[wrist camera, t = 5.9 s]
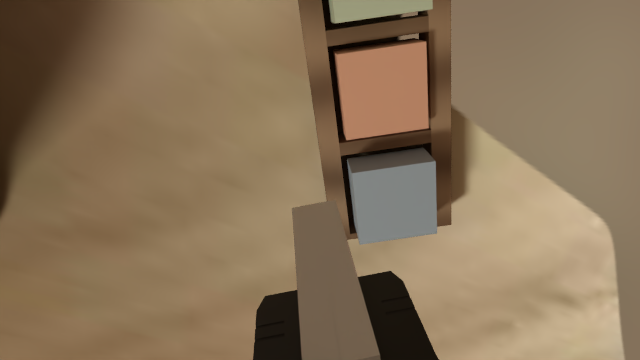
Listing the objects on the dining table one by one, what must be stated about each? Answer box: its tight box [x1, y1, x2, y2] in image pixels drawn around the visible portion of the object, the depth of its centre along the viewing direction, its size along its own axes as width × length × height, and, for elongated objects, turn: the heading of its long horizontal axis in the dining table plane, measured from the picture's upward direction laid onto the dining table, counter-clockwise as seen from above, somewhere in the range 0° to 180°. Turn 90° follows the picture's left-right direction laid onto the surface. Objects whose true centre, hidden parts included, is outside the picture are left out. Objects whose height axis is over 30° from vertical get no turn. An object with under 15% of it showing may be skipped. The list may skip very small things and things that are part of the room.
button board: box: [298, 0, 451, 240], centre depth 30 cm, size 24×10×2 cm, turn 8°
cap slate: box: [347, 148, 437, 244], centre depth 31 cm, size 6×6×3 cm
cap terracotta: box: [333, 38, 429, 140], centre depth 29 cm, size 6×6×3 cm
